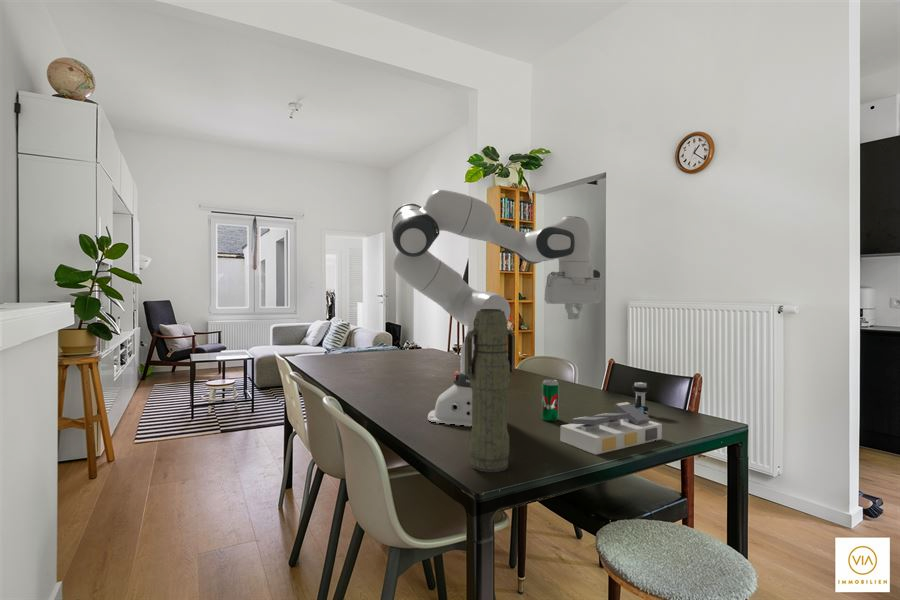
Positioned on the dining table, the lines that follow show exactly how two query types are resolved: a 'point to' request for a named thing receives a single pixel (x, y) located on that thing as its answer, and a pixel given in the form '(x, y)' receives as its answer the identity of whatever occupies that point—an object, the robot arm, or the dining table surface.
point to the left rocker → (590, 420)
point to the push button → (640, 396)
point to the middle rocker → (614, 416)
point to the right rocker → (632, 413)
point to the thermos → (489, 388)
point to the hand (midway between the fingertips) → (573, 319)
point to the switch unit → (609, 435)
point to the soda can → (550, 400)
